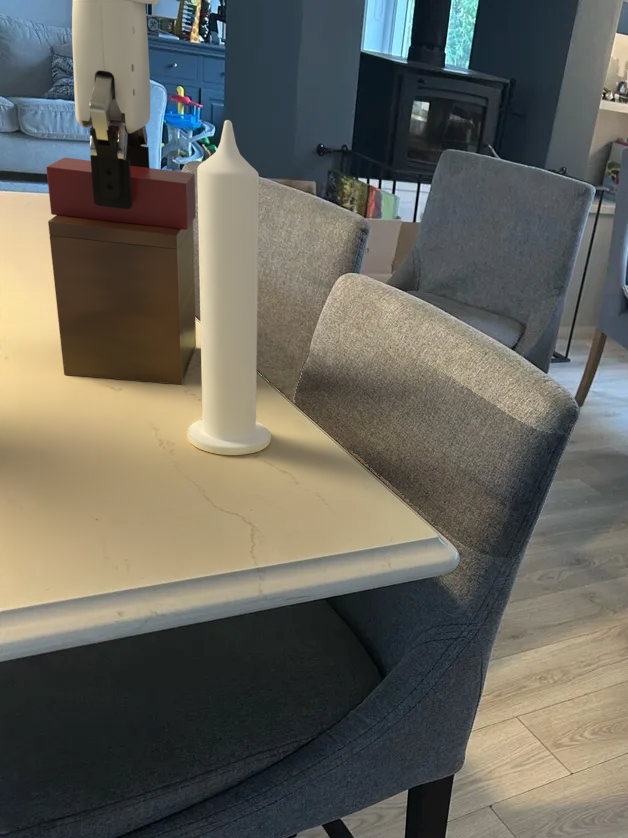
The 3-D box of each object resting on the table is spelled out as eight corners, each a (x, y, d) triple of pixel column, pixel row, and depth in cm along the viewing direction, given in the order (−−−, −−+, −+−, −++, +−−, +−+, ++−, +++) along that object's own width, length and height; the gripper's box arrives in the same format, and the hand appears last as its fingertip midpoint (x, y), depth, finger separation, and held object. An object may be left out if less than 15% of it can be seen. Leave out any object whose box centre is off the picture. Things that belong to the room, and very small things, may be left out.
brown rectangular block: (63, 374, 85) (47, 221, 78) (91, 337, 95) (79, 198, 88) (181, 384, 87) (176, 235, 80) (196, 347, 97) (193, 211, 90)
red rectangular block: (187, 230, 82) (186, 183, 80) (50, 214, 80) (46, 166, 78) (195, 217, 87) (194, 173, 85) (68, 202, 85) (63, 157, 83)
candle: (222, 417, 82) (219, 112, 68) (286, 438, 79) (296, 127, 66) (170, 439, 76) (156, 112, 63) (237, 463, 74) (237, 128, 60)
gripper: (86, -25, 80) (101, 179, 89) (34, -36, 66) (58, 209, 75) (172, -12, 82) (177, 188, 91) (139, -19, 67) (150, 219, 76)
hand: (123, 197), depth 83 cm, fingers open, 9 cm apart
